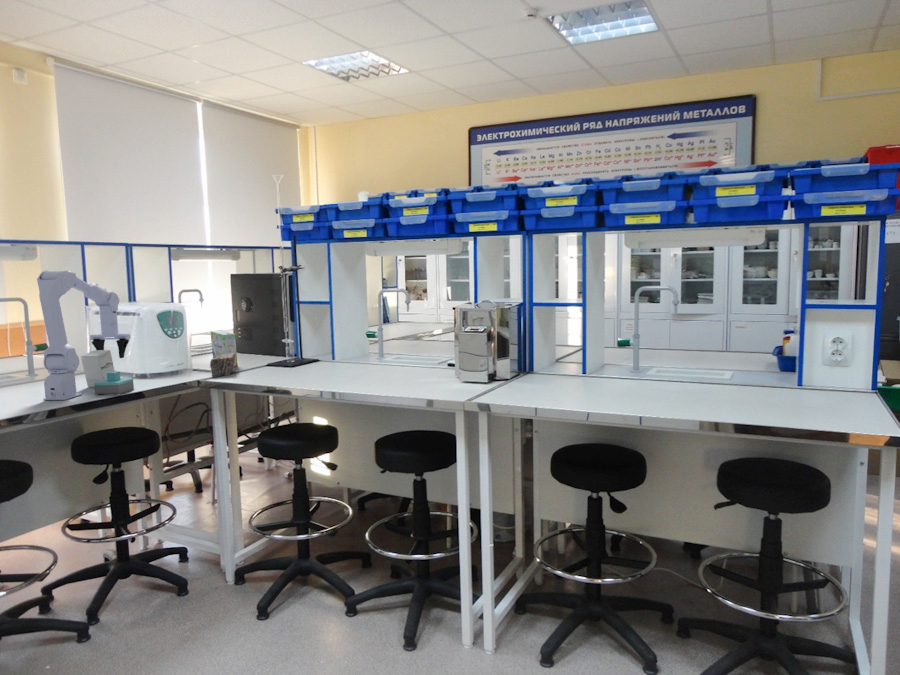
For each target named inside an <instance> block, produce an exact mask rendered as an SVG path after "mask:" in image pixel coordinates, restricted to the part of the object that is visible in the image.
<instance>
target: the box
mask: <svg viewBox="0 0 900 675" xmlns="http://www.w3.org/2000/svg"><path fill="white" fill-rule="evenodd" d="M93 388H94V395H95V394H120V395H123V394H126V393H129V392H131V390H132V391H134V390H135V384H134V380H133V381H130V382H126V383H123V384H120V385H94V387H93ZM128 391H129V392H128Z"/></svg>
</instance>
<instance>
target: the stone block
mask: <svg viewBox="0 0 900 675" xmlns="http://www.w3.org/2000/svg"><path fill="white" fill-rule="evenodd" d="M235 354H236V353H231V354H222V355H220V356H217V357H215V358H213V357H212V358H211V360H210V362H209V366H210V367H209V368H210V370H211V376H212V377H219V376H220V377H222V376H221V375H224V376H230V375H231V374H232V372H233V371H234V368H235V367H234V366H233V365H234V362H235ZM230 373H231V374H230Z"/></svg>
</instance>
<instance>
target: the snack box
mask: <svg viewBox="0 0 900 675" xmlns="http://www.w3.org/2000/svg"><path fill="white" fill-rule="evenodd" d="M209 333H210V341H211V342H210V343H211V352H212V359H213V358H215V357H217V356H220V355H222V354H231V353H236V354H235V362H234V365H233V366H234V367H233V368H235V367H238V354H237V340H236V338H237V337H236V333H233V332H229V331H227V330H223V329H218V330H217V329H216V330H210V332H209Z"/></svg>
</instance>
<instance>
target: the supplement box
mask: <svg viewBox="0 0 900 675" xmlns="http://www.w3.org/2000/svg"><path fill="white" fill-rule="evenodd" d="M80 358H81V363H82V367H83V371H84V376H85V381H86V385H87V388H94V383H95V382H99V381H102V380H106V379H107V373H109V372H116V370H115V367H114V362H113V358H112V353H111V350H110V349H104V350H96V349H94V350H92V351H90V352H88V353H84V354H83V355H80Z"/></svg>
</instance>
